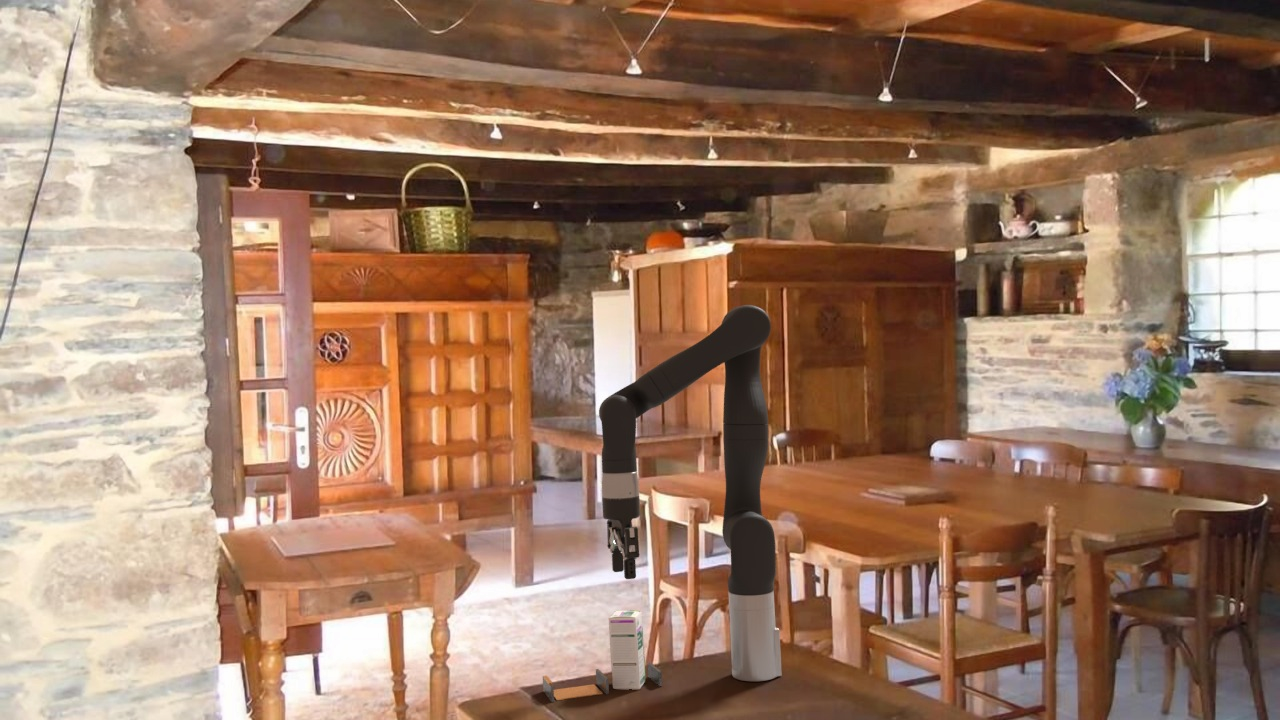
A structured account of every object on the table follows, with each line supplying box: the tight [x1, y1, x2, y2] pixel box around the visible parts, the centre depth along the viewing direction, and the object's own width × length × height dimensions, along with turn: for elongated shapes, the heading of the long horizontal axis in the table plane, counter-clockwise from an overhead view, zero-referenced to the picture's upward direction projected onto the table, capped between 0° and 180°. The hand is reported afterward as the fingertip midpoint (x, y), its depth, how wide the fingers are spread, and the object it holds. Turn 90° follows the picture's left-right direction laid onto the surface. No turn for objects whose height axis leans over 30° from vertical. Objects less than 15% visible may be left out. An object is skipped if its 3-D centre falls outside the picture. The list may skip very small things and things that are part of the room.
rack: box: [542, 661, 663, 703], centre depth 214 cm, size 23×8×3 cm, turn 108°
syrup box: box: [608, 609, 647, 690], centre depth 216 cm, size 6×6×14 cm
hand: (624, 575), depth 216 cm, fingers open, 8 cm apart
